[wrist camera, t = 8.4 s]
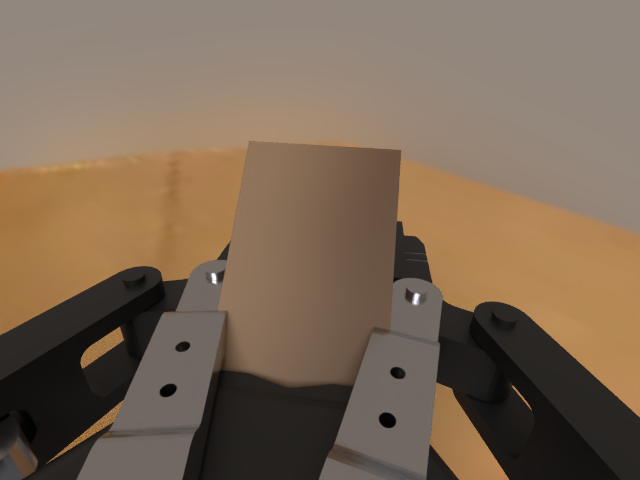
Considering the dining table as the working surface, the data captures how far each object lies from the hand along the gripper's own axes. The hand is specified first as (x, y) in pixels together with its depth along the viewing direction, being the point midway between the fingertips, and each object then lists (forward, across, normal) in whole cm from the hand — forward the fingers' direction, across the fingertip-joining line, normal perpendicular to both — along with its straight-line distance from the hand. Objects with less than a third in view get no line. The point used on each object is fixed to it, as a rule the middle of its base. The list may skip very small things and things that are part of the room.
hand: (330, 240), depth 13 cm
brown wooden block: (+2, 0, +5) cm, 5 cm away
